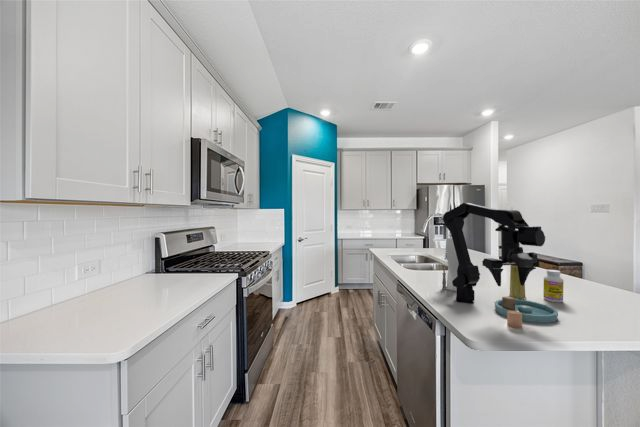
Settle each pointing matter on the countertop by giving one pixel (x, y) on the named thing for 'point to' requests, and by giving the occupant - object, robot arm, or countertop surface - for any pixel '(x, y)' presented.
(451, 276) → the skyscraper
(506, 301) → the bead walnut
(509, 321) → the bead terracotta
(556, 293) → the supplement bottle
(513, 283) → the vase
